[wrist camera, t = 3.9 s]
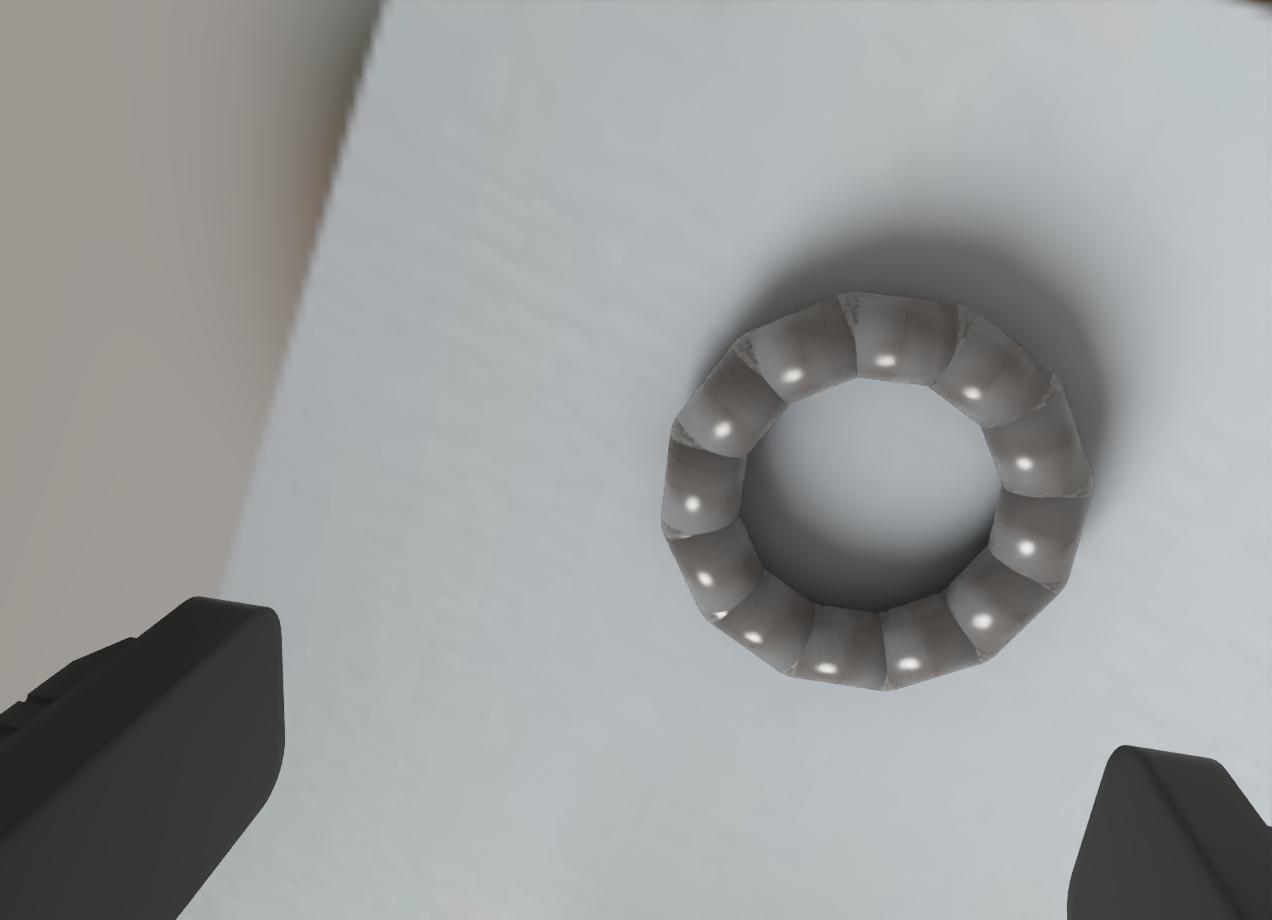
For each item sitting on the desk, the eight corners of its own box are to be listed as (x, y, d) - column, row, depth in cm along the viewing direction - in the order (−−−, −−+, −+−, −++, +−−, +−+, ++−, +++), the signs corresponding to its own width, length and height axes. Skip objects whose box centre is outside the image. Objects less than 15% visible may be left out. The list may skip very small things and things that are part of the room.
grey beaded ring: (650, 631, 19) (641, 668, 17) (691, 267, 16) (685, 277, 15) (1020, 687, 18) (1041, 730, 17) (1118, 316, 16) (1151, 331, 14)
